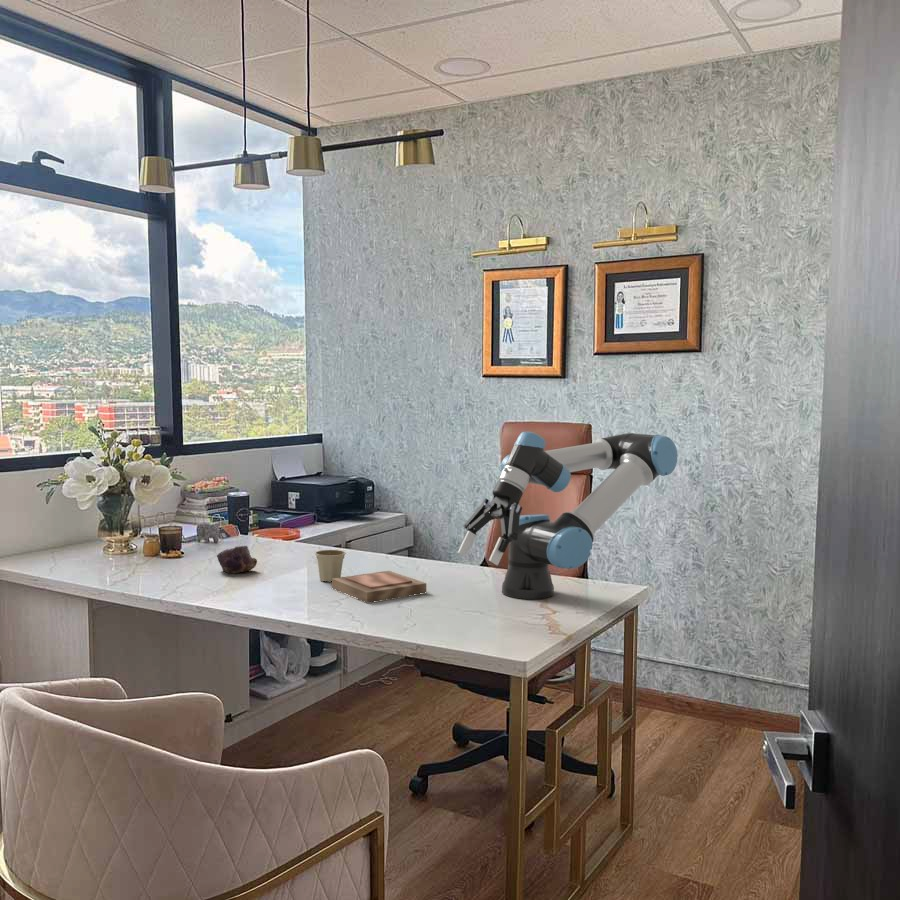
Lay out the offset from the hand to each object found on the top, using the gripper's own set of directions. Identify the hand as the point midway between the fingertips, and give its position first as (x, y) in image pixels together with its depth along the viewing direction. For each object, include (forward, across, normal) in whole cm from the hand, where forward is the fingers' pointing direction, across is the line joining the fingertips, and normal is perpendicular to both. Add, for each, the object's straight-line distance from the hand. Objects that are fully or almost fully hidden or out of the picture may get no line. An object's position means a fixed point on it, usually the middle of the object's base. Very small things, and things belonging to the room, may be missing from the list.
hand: (477, 559), depth 216 cm
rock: (+29, -84, -22) cm, 91 cm away
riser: (+16, -39, +1) cm, 42 cm away
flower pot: (+19, -59, -4) cm, 62 cm away
